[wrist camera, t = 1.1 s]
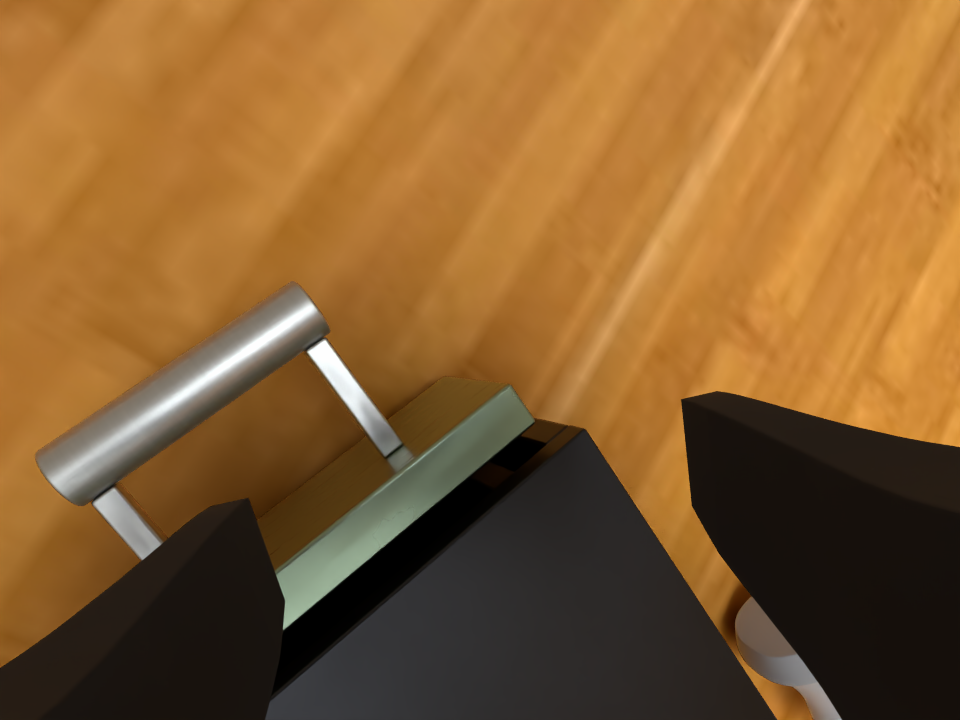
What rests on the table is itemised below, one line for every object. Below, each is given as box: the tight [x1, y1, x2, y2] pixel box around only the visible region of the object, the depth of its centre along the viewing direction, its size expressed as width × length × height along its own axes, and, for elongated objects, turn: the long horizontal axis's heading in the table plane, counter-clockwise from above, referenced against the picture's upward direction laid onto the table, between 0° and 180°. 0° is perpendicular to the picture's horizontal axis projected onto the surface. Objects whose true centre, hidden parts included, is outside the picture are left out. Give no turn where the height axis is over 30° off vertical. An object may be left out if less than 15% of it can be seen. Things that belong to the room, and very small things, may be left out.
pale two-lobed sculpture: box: [735, 596, 842, 720], centre depth 25 cm, size 4×8×5 cm
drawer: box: [35, 281, 535, 674], centre depth 18 cm, size 19×11×5 cm, turn 36°
